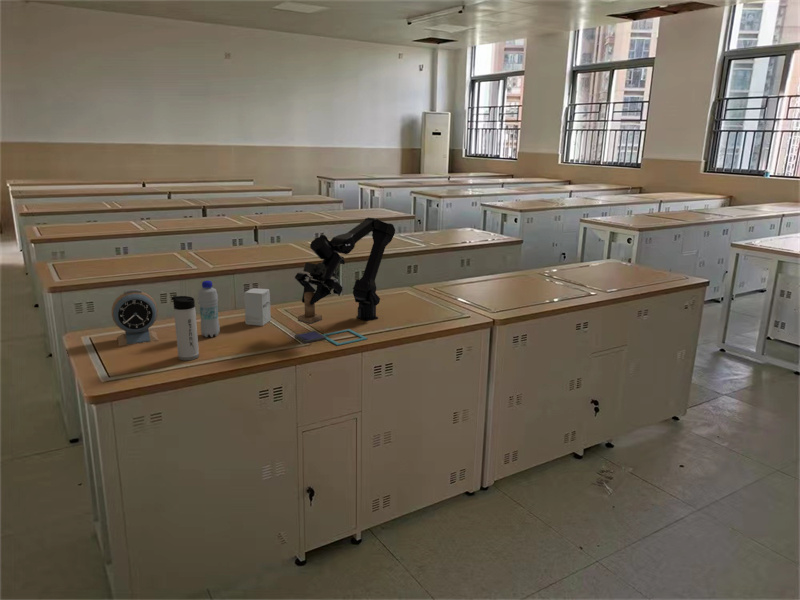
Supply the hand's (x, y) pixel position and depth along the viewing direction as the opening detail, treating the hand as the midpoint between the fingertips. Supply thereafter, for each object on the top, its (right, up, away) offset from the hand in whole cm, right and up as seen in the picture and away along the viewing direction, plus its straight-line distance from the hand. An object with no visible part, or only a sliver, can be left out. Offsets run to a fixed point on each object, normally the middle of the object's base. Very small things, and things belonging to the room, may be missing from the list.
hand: (306, 303), depth 196 cm
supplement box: (-22, -8, +21) cm, 31 cm away
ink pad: (+1, -12, +5) cm, 13 cm away
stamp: (+1, -6, +3) cm, 7 cm away
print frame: (+12, -12, +6) cm, 18 cm away
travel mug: (-35, -17, -15) cm, 42 cm away
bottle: (-35, -12, +5) cm, 37 cm away
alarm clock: (-59, -13, 0) cm, 60 cm away
